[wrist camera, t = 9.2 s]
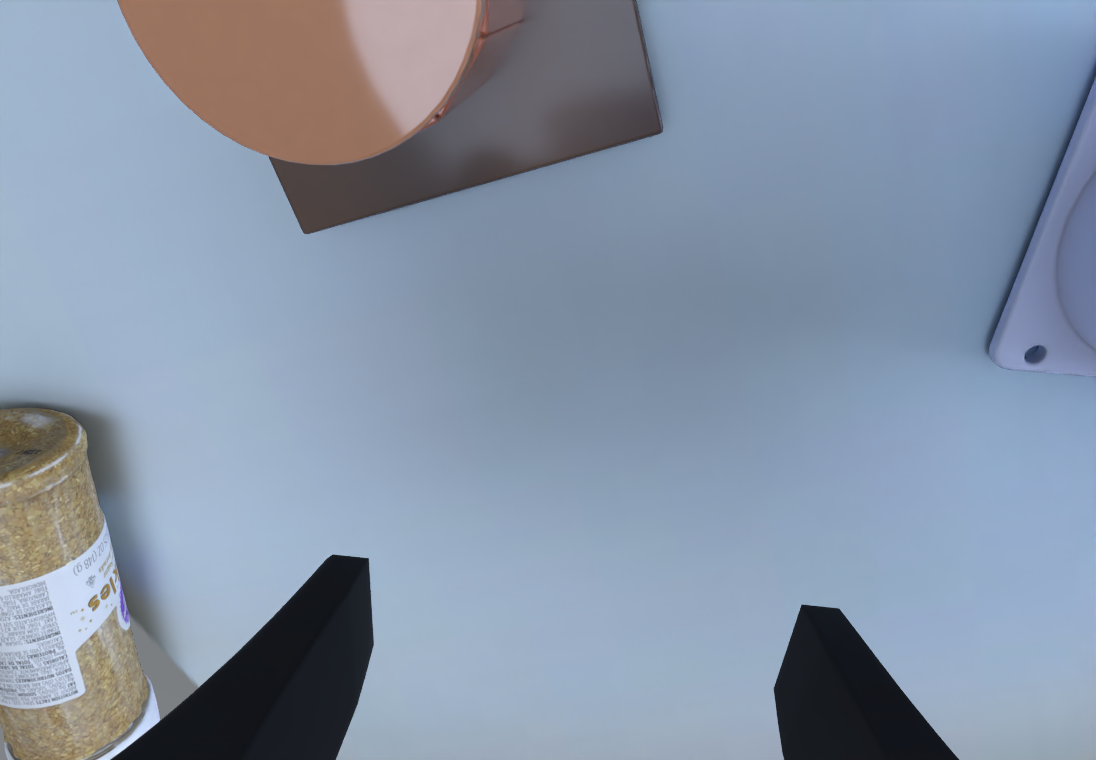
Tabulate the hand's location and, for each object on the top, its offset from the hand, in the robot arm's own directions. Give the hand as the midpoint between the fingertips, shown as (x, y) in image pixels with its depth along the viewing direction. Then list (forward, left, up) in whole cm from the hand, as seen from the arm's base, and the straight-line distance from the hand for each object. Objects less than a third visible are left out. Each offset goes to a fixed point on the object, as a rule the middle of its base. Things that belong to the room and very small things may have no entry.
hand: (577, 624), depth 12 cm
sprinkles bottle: (+17, +3, -7) cm, 18 cm away
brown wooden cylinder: (+5, -9, -8) cm, 13 cm away
